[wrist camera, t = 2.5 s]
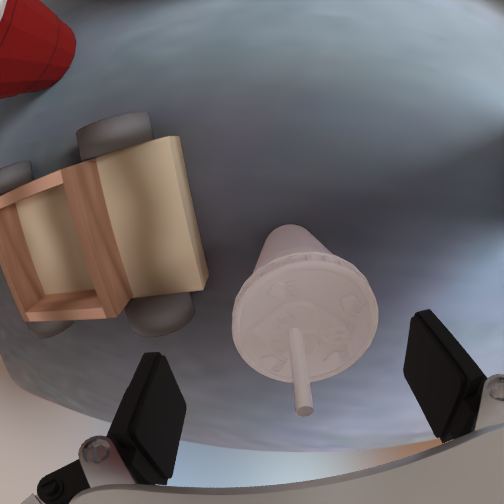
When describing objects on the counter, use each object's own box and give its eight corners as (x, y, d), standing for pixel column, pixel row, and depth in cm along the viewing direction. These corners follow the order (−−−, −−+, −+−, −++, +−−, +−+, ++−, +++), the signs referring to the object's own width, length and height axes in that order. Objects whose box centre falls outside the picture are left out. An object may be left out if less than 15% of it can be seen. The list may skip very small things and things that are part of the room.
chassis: (175, 110, 18) (145, 102, 13) (214, 296, 23) (201, 339, 18) (0, 178, 20) (-41, 191, 15) (43, 311, 24) (13, 341, 19)
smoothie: (247, 200, 20) (216, 319, 7) (341, 209, 20) (450, 326, 7) (241, 287, 22) (217, 456, 9) (326, 293, 22) (380, 454, 9)
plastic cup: (113, 90, 17) (-13, 66, 6) (14, 137, 18) (-96, 158, 7) (105, -22, 14) (18, -84, 3) (10, 35, 15) (-83, 20, 4)
